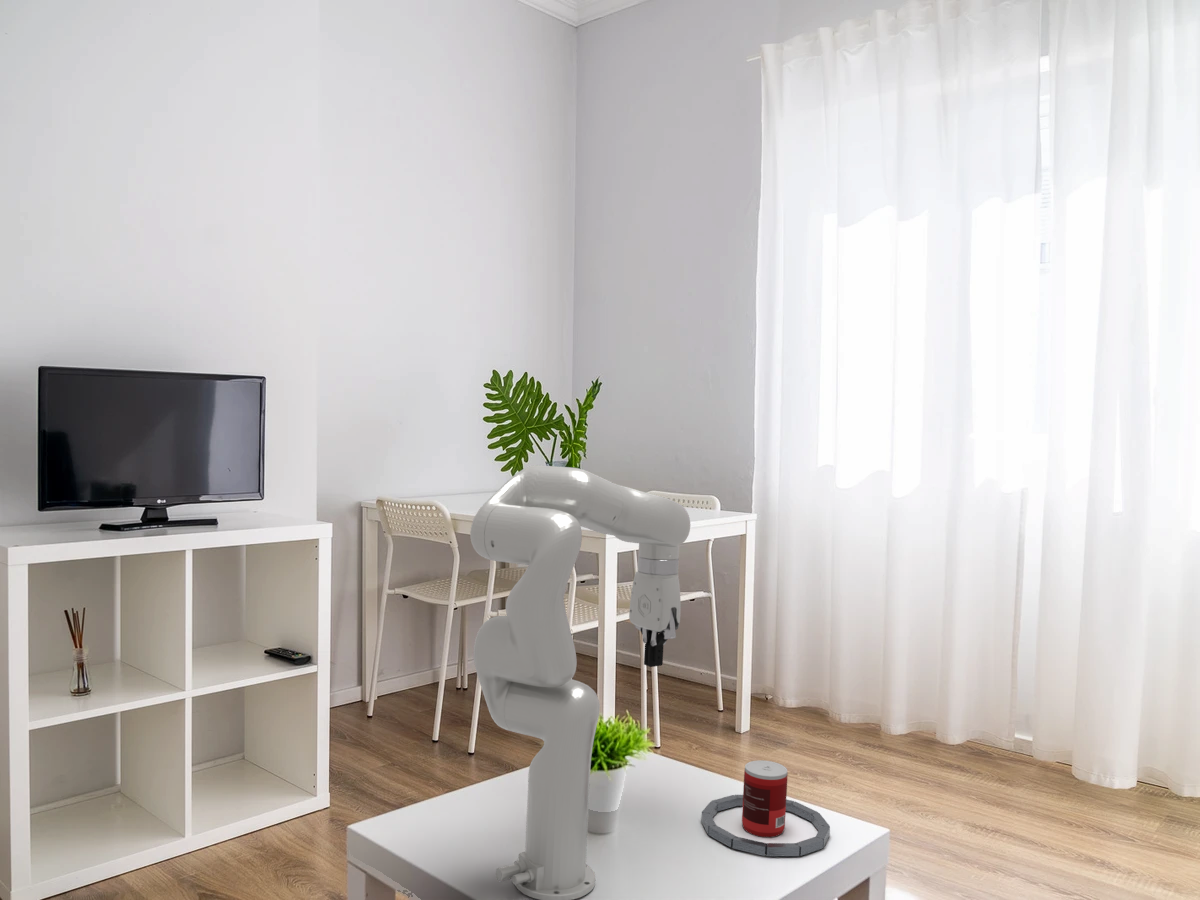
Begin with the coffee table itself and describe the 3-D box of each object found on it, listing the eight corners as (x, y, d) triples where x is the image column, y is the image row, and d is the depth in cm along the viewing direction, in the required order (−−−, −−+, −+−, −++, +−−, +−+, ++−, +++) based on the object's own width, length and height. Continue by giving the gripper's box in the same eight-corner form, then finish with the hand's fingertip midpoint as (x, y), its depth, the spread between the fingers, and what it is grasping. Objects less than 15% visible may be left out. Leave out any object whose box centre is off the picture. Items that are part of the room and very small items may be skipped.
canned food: (781, 820, 170) (784, 761, 170) (787, 839, 162) (790, 777, 162) (739, 817, 171) (742, 758, 170) (743, 836, 163) (746, 774, 163)
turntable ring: (766, 867, 151) (767, 849, 151) (678, 817, 169) (678, 801, 169) (853, 837, 164) (854, 820, 164) (763, 794, 181) (764, 779, 181)
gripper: (617, 562, 176) (613, 658, 176) (668, 574, 164) (663, 677, 164) (648, 560, 180) (644, 654, 181) (700, 572, 168) (694, 672, 168)
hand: (653, 665), depth 172 cm, fingers closed
